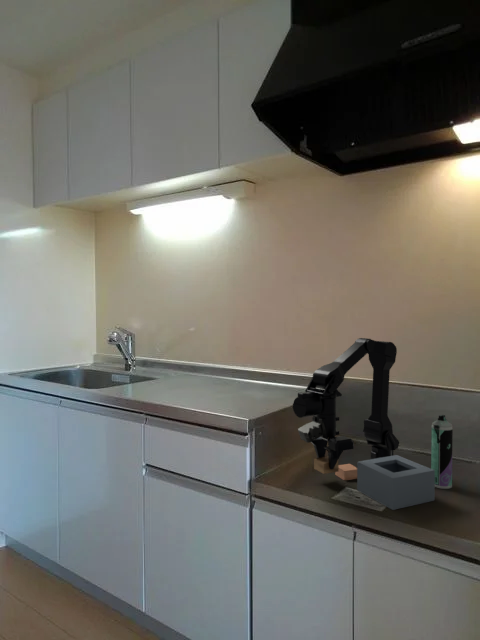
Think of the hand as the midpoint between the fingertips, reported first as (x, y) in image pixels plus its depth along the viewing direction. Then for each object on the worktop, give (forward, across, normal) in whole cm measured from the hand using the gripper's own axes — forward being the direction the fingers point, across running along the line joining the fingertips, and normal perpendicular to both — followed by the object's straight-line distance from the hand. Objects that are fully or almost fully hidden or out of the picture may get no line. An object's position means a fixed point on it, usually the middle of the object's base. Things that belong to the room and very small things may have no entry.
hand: (326, 466), depth 138 cm
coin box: (+4, +16, +11) cm, 20 cm away
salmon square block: (+5, -1, +8) cm, 9 cm away
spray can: (+5, +16, +28) cm, 33 cm away
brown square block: (+1, 0, 0) cm, 1 cm away
